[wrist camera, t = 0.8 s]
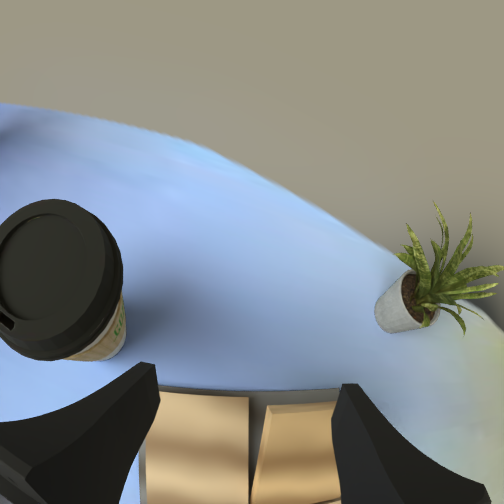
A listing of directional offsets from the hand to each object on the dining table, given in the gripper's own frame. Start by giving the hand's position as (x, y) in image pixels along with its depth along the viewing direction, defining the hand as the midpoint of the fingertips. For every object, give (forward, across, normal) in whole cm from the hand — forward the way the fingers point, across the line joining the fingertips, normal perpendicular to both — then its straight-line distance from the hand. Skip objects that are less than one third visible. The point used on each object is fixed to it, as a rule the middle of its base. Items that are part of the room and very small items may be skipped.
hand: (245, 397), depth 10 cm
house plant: (+25, -17, +8) cm, 31 cm away
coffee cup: (+12, +16, +7) cm, 21 cm away
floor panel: (+6, 0, +19) cm, 20 cm away
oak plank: (+7, -5, +15) cm, 17 cm away
